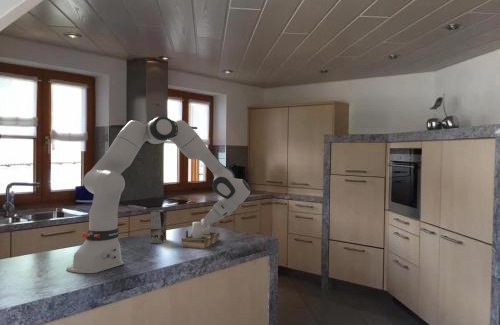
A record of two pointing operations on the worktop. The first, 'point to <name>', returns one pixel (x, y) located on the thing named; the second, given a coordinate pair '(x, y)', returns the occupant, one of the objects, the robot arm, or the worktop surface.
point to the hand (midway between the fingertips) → (207, 225)
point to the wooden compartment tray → (198, 243)
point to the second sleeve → (206, 230)
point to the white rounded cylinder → (197, 230)
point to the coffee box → (158, 226)
